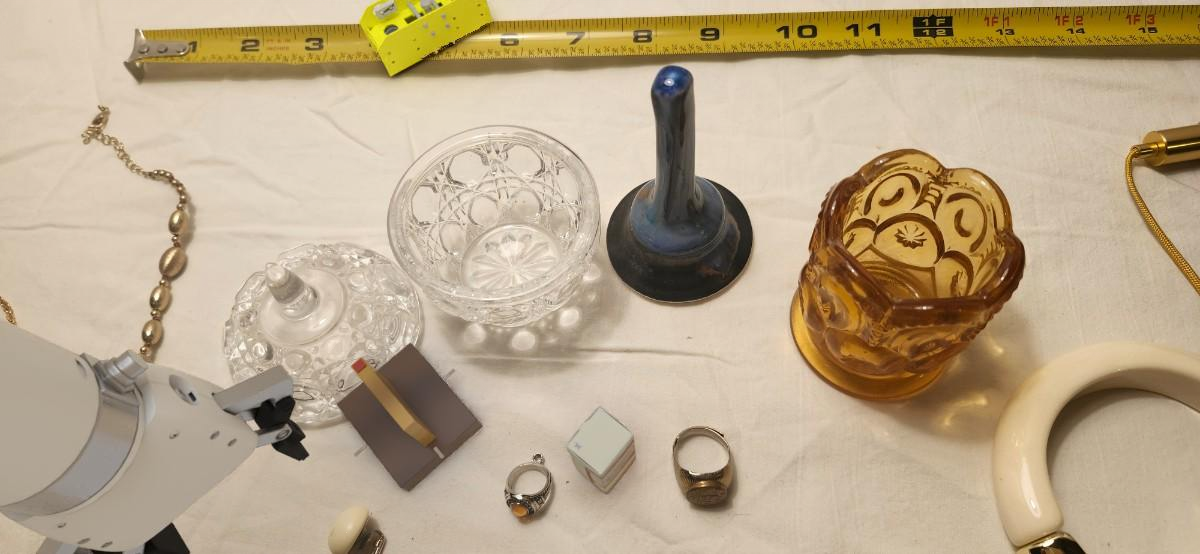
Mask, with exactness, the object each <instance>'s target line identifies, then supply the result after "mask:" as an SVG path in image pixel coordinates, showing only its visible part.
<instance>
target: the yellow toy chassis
mask: <svg viewBox="0 0 1200 554" xmlns="http://www.w3.org/2000/svg"><path fill="white" fill-rule="evenodd" d="M490 22H491V23H492V22H493V18H492V14H491V11H490V7H489V4H488V0H376V1H374V2H372V3H370V4H369V5H367V6H366V7H365V9H364V11H363V13H362V15H361V17H360V18H359V20H358V23H359V25H360V27H361V30H363V33H364V35H365V37H366V39H367V41H368V42H369V44H370V46H371V49H372V50H373V52H374V51H376V50H377V51H378V53H379V54H378V55H379V58H380V57H381V58H380V60H381V59H382V60H381V61H382V63H383V65H384V67H385V69H386V70H387V73H388V75H389V77H393V76H394V75H396V74H398V73H400V72H402V71H403V70H406V69H408V68H409V67H411V66H413V65H415V64H416V63H418V62H420V61H423V59H421V57H422V56H424V55H425V54H428V53H429V52H432V51H433V50H435V49H437V48H439V47H441V46H444V45H445V44H447V43H449V42H455V41H454V40H456V39H458V38H461V37H462V36H464V35H466V36H468V35H469V34H468V33H470V34H472V33H473V31H474V32H476V31H478V30H479V29H481V28H482V27H481V26H483V25H485V24H486V23H489V24H491V23H490ZM485 26H486V25H485ZM457 27H458V28H457ZM480 27H481V28H480ZM483 27H484V26H483ZM475 30H476V31H475ZM471 32H472V33H471ZM467 34H468V35H467ZM414 39H415V40H414ZM461 39H462V38H461ZM418 48H419V49H418ZM435 52H436V51H435ZM388 53H390V54H388Z"/></svg>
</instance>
